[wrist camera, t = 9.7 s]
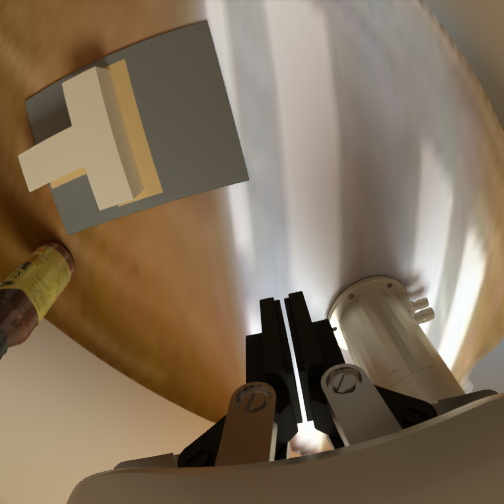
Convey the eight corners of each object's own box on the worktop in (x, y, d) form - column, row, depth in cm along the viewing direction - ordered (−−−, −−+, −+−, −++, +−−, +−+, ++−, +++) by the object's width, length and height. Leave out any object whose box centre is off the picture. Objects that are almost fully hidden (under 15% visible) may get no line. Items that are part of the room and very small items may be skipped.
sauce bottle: (51, 230, 33) (-46, 323, 15) (84, 263, 35) (5, 374, 17) (32, 260, 35) (-51, 353, 17) (63, 290, 37) (-7, 395, 19)
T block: (110, 70, 26) (95, 66, 22) (144, 189, 32) (133, 199, 28) (27, 114, 26) (8, 117, 22) (60, 218, 32) (44, 231, 29)
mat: (207, 21, 24) (206, 20, 24) (249, 179, 32) (249, 180, 32) (26, 101, 26) (24, 101, 25) (69, 234, 33) (68, 235, 33)
